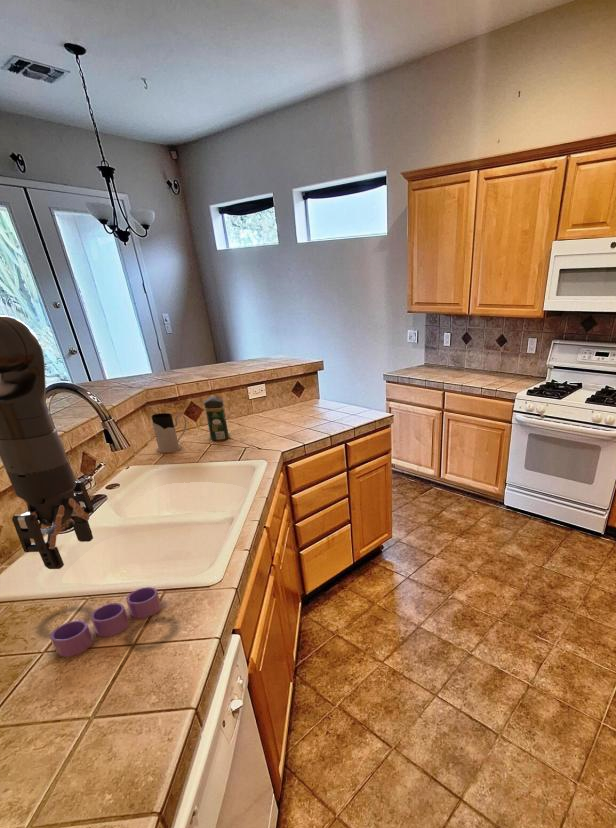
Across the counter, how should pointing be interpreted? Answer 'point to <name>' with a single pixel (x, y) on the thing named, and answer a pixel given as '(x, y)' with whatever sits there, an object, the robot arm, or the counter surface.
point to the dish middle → (110, 619)
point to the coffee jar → (216, 418)
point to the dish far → (143, 602)
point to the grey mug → (166, 432)
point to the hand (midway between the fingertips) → (71, 553)
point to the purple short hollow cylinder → (71, 638)
